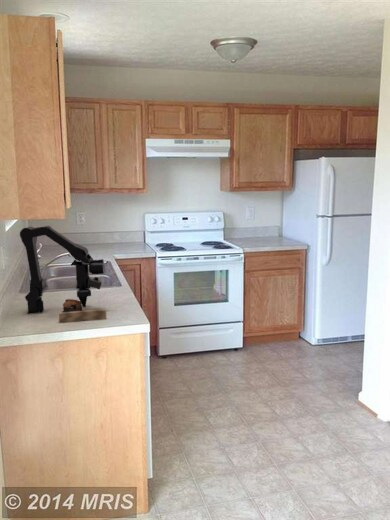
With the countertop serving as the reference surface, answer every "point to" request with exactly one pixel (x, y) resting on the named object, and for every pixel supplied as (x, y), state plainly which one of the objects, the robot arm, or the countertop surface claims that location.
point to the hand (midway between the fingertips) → (84, 306)
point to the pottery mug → (72, 305)
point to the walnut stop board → (82, 315)
